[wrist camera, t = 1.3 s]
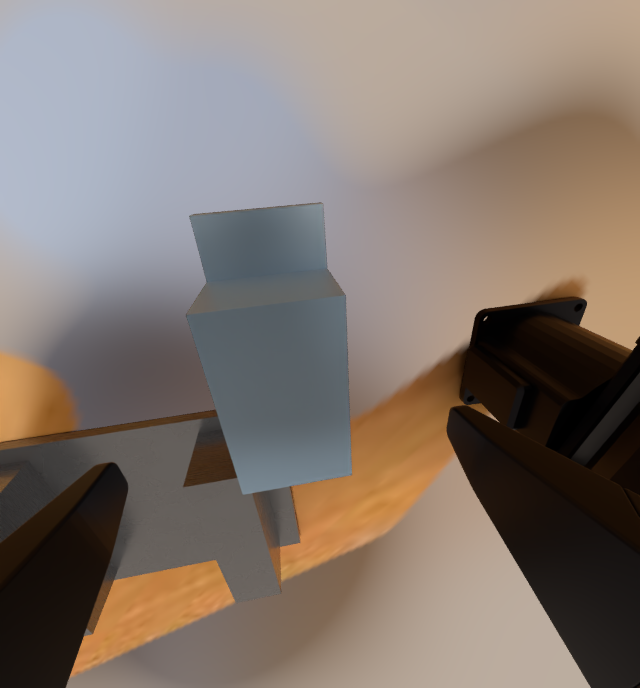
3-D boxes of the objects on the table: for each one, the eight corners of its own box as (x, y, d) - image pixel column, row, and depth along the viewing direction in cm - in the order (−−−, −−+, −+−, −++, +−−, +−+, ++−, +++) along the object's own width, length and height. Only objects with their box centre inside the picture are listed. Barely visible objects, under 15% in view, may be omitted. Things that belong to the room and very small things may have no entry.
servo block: (212, 206, 12) (158, 228, 6) (307, 198, 13) (342, 210, 7) (258, 409, 18) (252, 527, 12) (324, 398, 18) (352, 508, 12)
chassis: (274, 400, 18) (275, 456, 14) (299, 535, 24) (304, 595, 21) (-66, 452, 16) (-164, 531, 12) (63, 581, 23) (25, 656, 19)
